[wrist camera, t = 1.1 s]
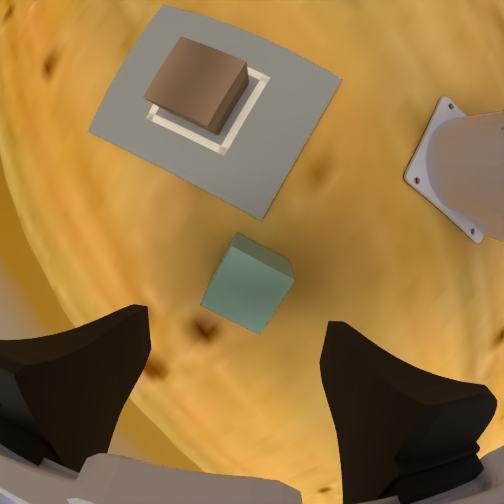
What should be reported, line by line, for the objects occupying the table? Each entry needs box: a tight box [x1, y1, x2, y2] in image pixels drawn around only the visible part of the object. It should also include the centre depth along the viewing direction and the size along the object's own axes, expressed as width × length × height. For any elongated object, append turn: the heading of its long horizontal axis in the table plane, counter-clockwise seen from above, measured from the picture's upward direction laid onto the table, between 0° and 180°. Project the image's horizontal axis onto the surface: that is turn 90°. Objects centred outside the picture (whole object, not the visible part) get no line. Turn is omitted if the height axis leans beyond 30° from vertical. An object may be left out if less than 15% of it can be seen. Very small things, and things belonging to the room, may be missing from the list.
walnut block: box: [143, 37, 249, 135], centre depth 15 cm, size 4×4×4 cm
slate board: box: [88, 4, 343, 221], centre depth 17 cm, size 14×11×1 cm
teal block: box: [200, 232, 295, 334], centre depth 19 cm, size 4×4×4 cm
